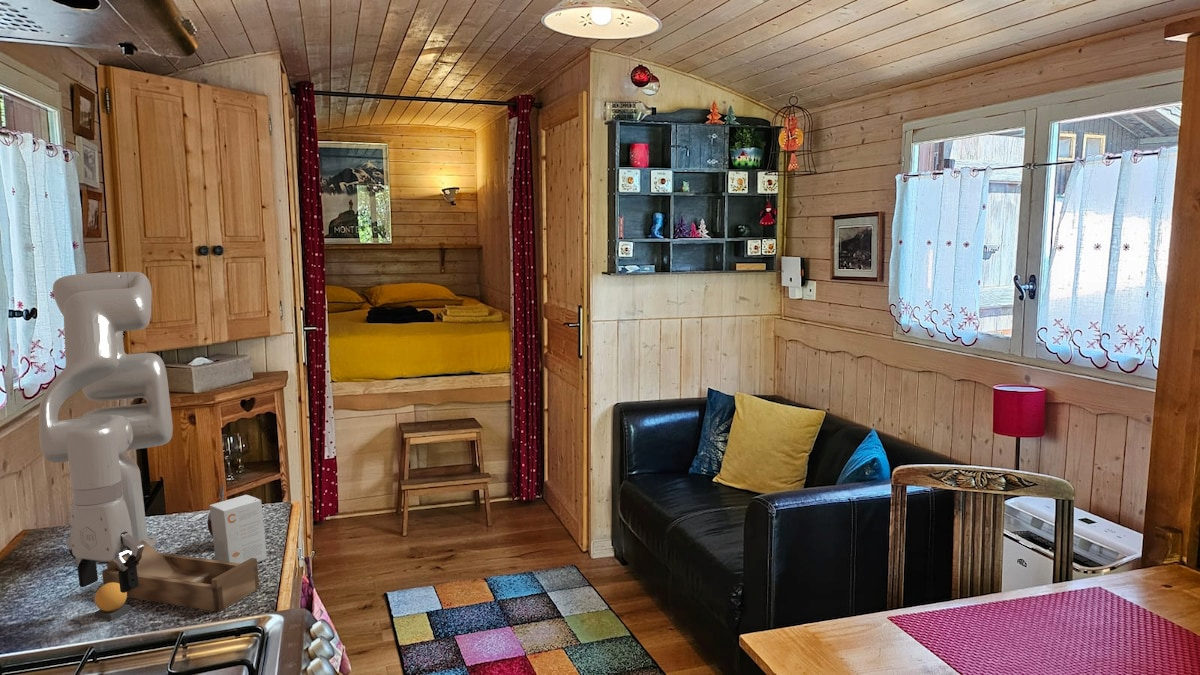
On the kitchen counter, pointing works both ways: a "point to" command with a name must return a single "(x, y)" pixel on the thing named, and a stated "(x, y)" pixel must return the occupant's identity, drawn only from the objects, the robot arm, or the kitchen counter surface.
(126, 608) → the square washer
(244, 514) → the small box
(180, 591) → the brown long open tray
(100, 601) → the ball
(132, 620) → the kitchen counter surface
